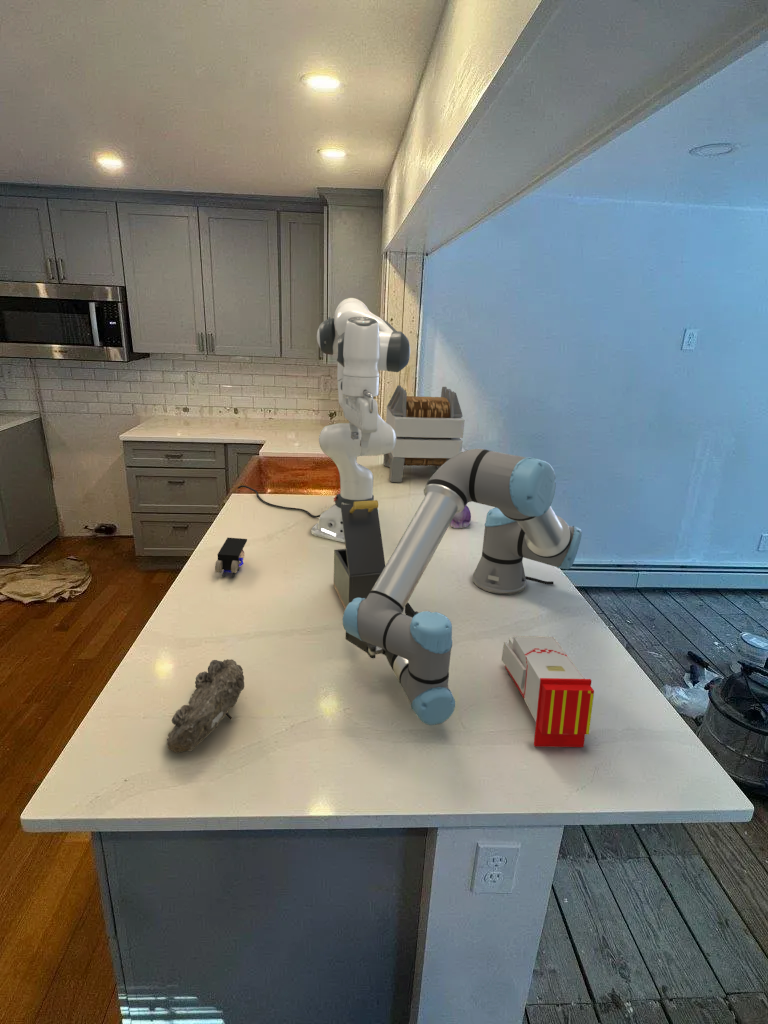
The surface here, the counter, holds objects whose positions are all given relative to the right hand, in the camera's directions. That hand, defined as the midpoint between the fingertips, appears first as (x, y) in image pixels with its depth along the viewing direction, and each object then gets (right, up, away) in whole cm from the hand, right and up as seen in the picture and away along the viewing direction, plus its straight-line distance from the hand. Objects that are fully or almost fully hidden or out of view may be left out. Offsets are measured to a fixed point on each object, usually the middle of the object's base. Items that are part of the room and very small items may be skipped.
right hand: (379, 610), depth 134 cm
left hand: (-5, +41, +8) cm, 42 cm away
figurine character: (-44, +6, +33) cm, 55 cm away
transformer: (+18, +42, +141) cm, 148 cm away
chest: (-6, 0, +20) cm, 21 cm away
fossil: (-32, -16, -26) cm, 44 cm away
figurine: (+29, +19, +77) cm, 84 cm away
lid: (-4, +17, +11) cm, 20 cm away
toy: (+33, -15, -17) cm, 40 cm away
